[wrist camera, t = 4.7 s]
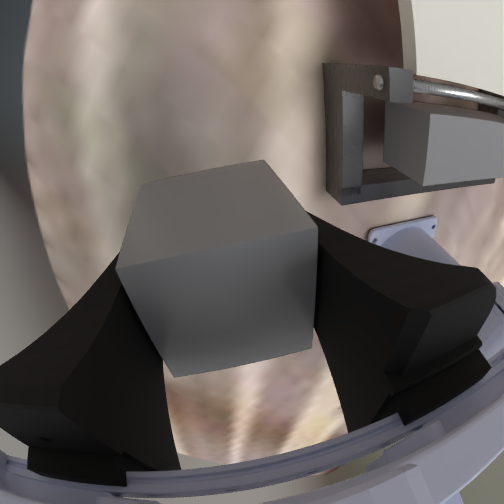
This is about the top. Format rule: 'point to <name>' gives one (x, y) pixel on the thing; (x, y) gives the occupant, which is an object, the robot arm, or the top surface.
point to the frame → (352, 128)
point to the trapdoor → (455, 70)
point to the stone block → (221, 268)
